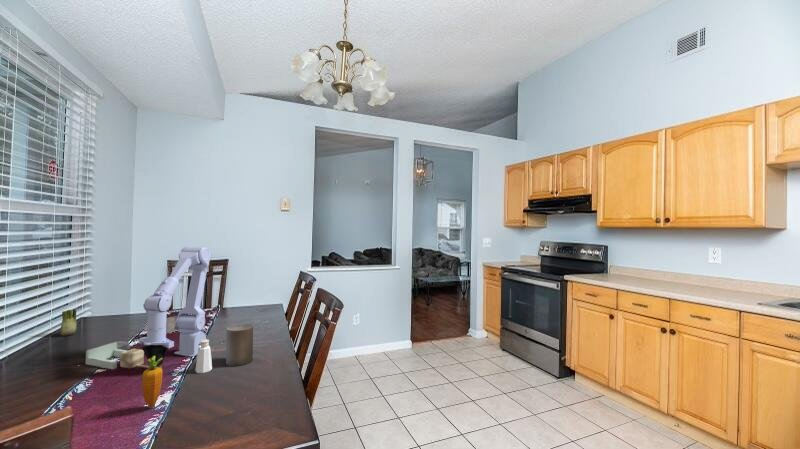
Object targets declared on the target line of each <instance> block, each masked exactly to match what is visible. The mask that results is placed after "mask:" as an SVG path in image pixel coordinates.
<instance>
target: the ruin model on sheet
mask: <svg viewBox="0 0 800 449" xmlns="http://www.w3.org/2000/svg"><path fill="white" fill-rule="evenodd" d="M177 317H178V315H175V316H174V315H173V316H169V317H166V335H168V334H167V333H169V334H172V332H174V333H176V332H175V331H178V329H177V328H176V327H175V321H176V319H177Z"/></svg>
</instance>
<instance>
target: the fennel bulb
mask: <svg viewBox="0 0 800 449" xmlns="http://www.w3.org/2000/svg"><path fill="white" fill-rule="evenodd" d="M77 312H78V311H77V308H73V309H67V310H63V311H62V312H61V317H62V320H61V323H60V324H61V325H60V330H59V331H60V335H61V336H63V337H67V336H72V335H74V334H76V331H77Z"/></svg>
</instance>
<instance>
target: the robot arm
mask: <svg viewBox="0 0 800 449" xmlns="http://www.w3.org/2000/svg"><path fill="white" fill-rule="evenodd" d="M211 256H212V254H211V251H210V250H209V248H208V247H206V246H202V247H201V246H198V247H197V246H183V247H182V248H181V249H180V252H179V253H178V261H177V263H176V264H175V266H174V267H173V270H172V272H171V273H170V275H169V276H168V277H165V278H163V279H162V281H161V282H160V283H159V285H158V287H157V288H156V289H155V291H154V293H153V294H151V295H149V296H148V297H147V298H146V299H145V301H144V303H143V309H144V311H145V315H146V316H147V322H146V326H147V328H146V336H144V337H140V338H138V343H139V344H141V345H142V344H143V345H144V346H142V347H141V350H143V351H144V355H145V356H146V359H147V360H148V359H149V358H151V357H153V356H155V362H157V361H158V360H159V359H160V358H163V359H162V360H161V361H160V362H159V363H158V364H157V366H160V365H162V366H163V363H164V360H165V357H166V354H167V352H168V350H170V349H171V348H173V347H175V341H173V340H171V339H169V338H167V334H166V318H168V316H167V315H168V314H167V313H168V312H167V311H168V309H170V308H171V305H172V300H173V296H174V294H175V293H176V291H177V289H178V288H179V286H180V282H179V281H180V279H181V278H182V277H183V275H184V274H185V273H186V272H187V270H188V269H189V268H191V269H192V272H191V278H190V283H189V286H188V287H189V288H188V292H187V296H186V297H187V298H186V303H185V306H184V308H182V309H181V310H179V312H178V315H177V316H178V317H177V319H176V321H175V327H176V328H177V329H178V333H179V350H178V351H175V352H174V353H173V354H174V355H180V356H184V357H185V356H186V357H195V356H198V349H199V348H200V347H201V345H200V344H201V343H200V341H201V340H205V339H207V335H206V333H205V332H203V331H202V330H203V328H204V327H205V325H206V318H205V317H206V316H205V315H206V311H204V309H202V308H201V304H202V298H203V295H204V294H203V292H204V290H205V289H204V287H205V284H206V278H207V272H208V268H209V265H210V260H211ZM147 360H146V361H147ZM157 366H156V367H157Z"/></svg>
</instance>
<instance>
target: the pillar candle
mask: <svg viewBox="0 0 800 449" xmlns="http://www.w3.org/2000/svg"><path fill="white" fill-rule="evenodd" d="M225 343H226V344H225V346H226V347H225V348H226V349H225V350H226V351H225V365H227V366H231V367H238V366H243V365H244V366H245V365H247V364H250V363H252V362H253V360H254V358H253V355H254V325H253V324H252V323H241V322H240V323H235V324H232V325H230V326H227V327H226V342H225Z"/></svg>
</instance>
